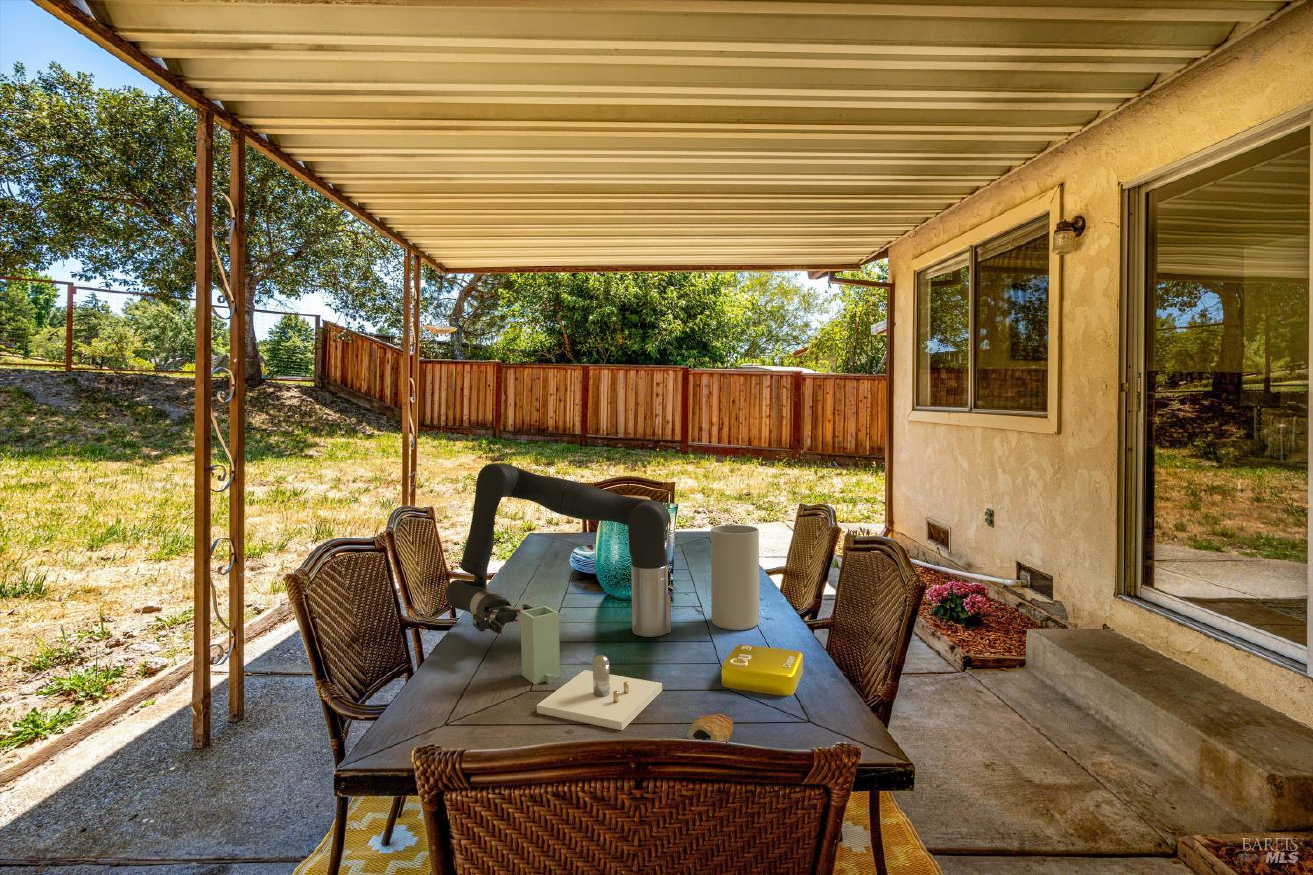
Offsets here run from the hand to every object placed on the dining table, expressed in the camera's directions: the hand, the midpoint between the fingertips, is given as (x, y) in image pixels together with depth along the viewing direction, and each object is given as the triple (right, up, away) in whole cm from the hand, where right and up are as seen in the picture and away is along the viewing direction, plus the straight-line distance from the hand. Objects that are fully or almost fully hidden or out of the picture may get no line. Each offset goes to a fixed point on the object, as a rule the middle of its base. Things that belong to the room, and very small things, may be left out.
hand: (518, 625), depth 152 cm
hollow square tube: (+7, -8, -9) cm, 14 cm away
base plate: (+21, -9, -21) cm, 31 cm away
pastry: (+41, -10, -36) cm, 55 cm away
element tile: (+54, -9, -11) cm, 56 cm away
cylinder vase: (+52, -6, +24) cm, 58 cm away
